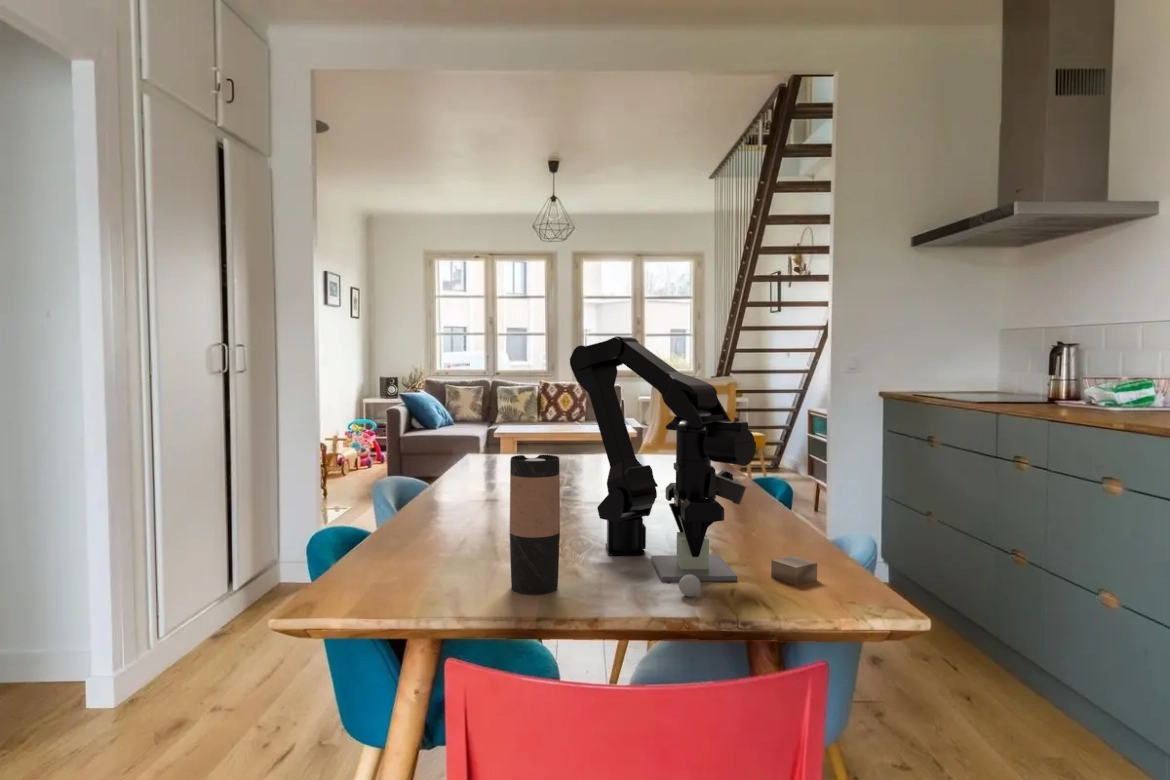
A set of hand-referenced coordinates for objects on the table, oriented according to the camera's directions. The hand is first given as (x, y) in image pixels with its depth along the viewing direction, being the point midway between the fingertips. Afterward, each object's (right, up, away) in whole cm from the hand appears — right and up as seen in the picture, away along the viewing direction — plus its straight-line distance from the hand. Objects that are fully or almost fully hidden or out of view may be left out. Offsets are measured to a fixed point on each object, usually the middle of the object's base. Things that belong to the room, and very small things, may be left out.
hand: (692, 552), depth 119 cm
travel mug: (-26, -4, -9) cm, 27 cm away
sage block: (0, -2, 0) cm, 2 cm away
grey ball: (-2, -2, -13) cm, 13 cm away
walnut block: (+16, -4, -4) cm, 17 cm away
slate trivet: (0, -3, 0) cm, 3 cm away
